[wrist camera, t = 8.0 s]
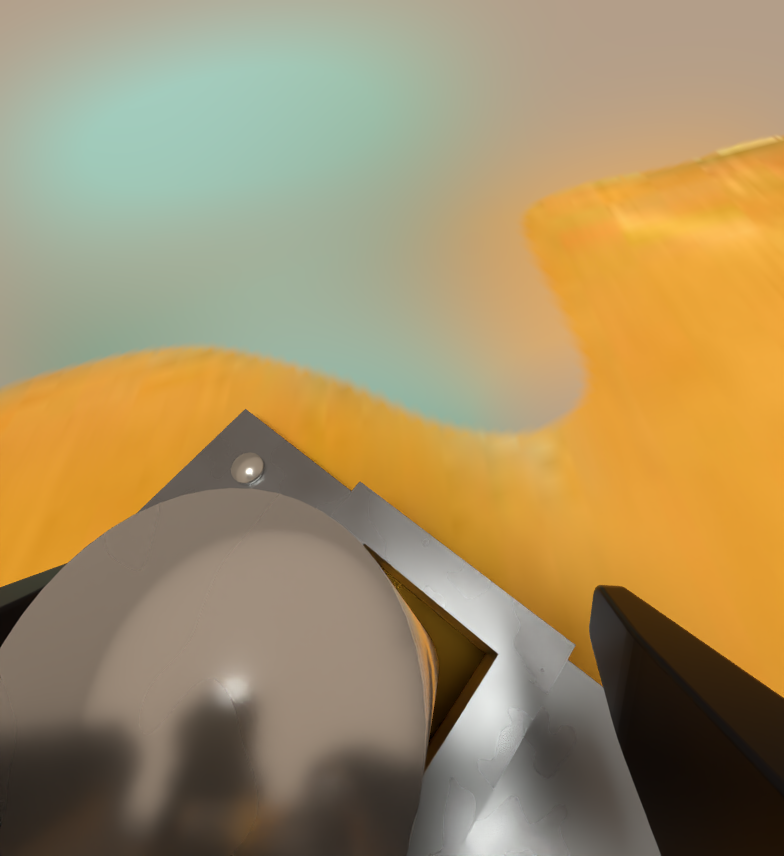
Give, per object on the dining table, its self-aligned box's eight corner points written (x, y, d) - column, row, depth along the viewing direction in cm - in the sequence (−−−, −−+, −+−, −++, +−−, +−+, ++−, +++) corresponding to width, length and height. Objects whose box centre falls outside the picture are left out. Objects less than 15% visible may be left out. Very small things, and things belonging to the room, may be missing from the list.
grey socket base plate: (794, 842, 12) (934, 917, 9) (677, 1192, 10) (808, 1489, 6) (253, 419, 21) (215, 372, 18) (121, 548, 19) (46, 523, 15)
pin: (456, 699, 15) (522, 926, 2) (359, 744, 14) (-106, 1262, 2) (415, 597, 16) (336, 432, 4) (328, 636, 16) (-32, 580, 4)
